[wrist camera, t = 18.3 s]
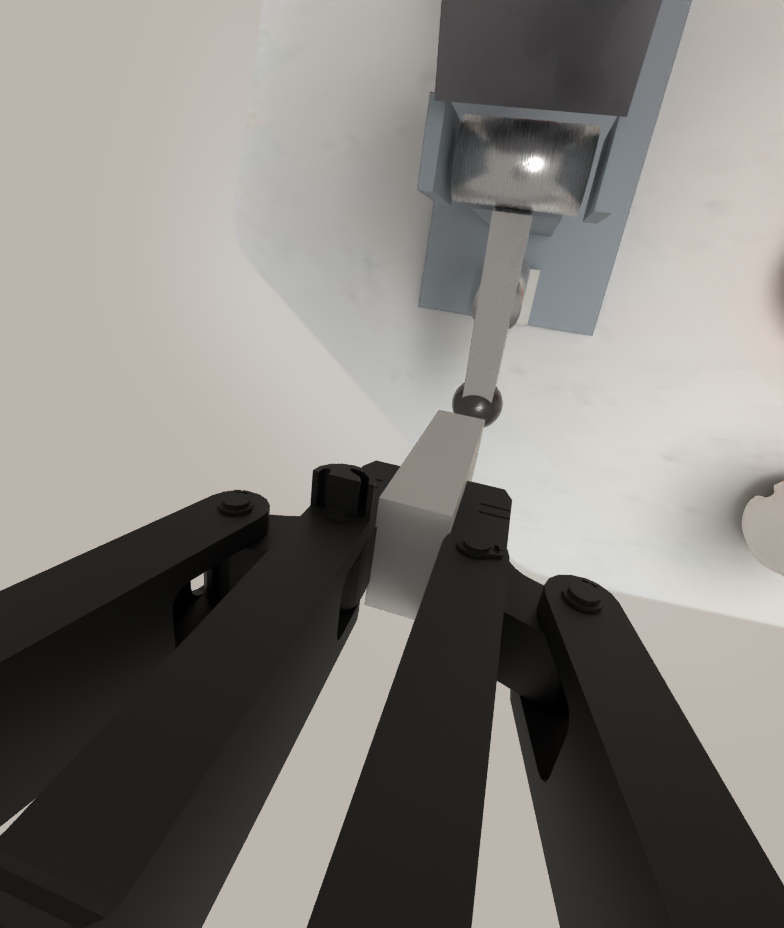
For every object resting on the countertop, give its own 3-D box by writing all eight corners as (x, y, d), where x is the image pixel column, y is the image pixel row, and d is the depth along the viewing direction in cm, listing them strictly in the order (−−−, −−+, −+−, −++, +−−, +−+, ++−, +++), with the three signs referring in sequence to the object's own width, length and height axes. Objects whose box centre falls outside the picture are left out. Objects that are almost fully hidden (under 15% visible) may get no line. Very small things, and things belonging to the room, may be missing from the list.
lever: (490, -27, 20) (443, -31, 14) (647, -21, 18) (669, -23, 13) (443, 364, 33) (409, 447, 27) (533, 381, 32) (518, 471, 26)
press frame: (481, -91, 29) (404, -619, 12) (715, -89, 27) (1054, -752, 9) (421, 305, 39) (329, 337, 21) (590, 333, 36) (643, 396, 19)
